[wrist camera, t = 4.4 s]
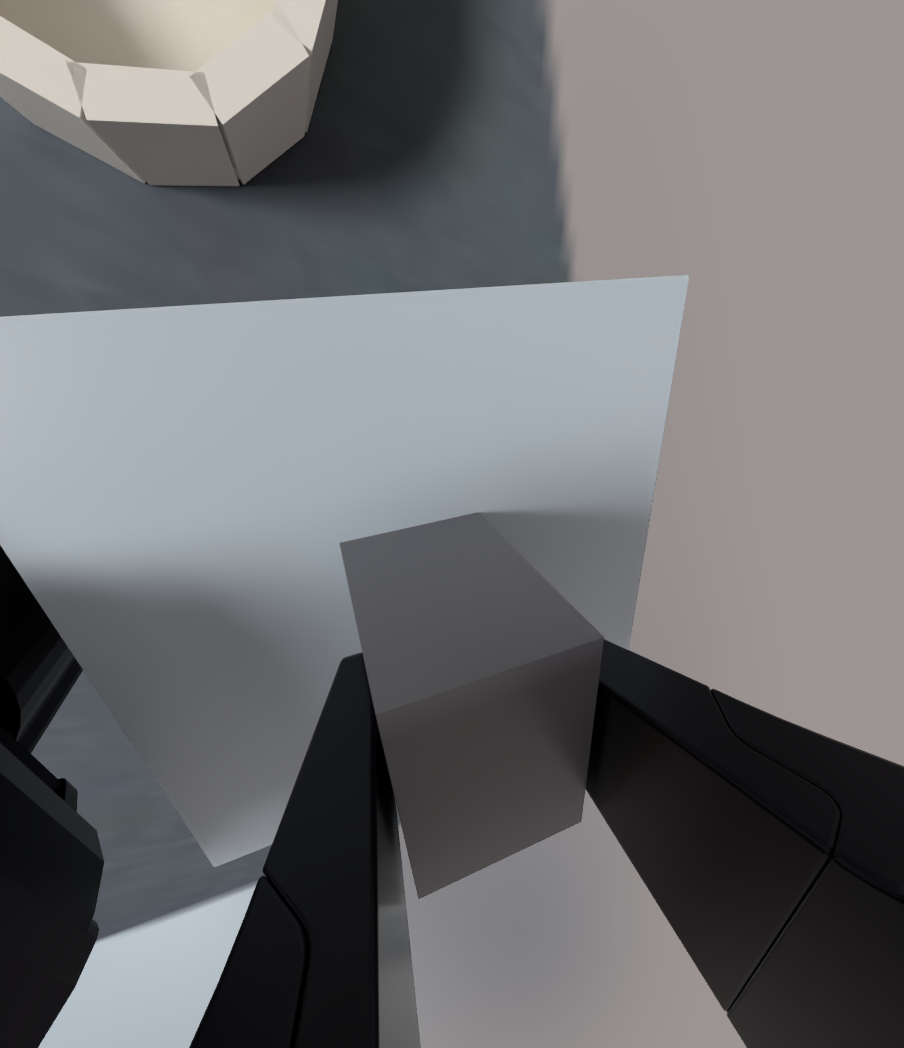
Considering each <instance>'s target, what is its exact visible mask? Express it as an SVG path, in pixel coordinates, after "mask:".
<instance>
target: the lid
mask: <svg viewBox="0 0 904 1048" xmlns="http://www.w3.org/2000/svg"><path fill="white" fill-rule="evenodd" d="M688 281H689V275H680V276H666V277H665V276H664V277H648V278H631V279H615V280H600V281H599V280H598V281H582V282H565V283H549V284H533V285H516V286H500V287H483V288H467V289H450V290H434V291H417V292H401V293H385V294H368V295H352V296H335V297H319V298H302V299H286V300H270V301H253V302H237V303H220V304H204V305H187V306H171V307H154V308H138V309H122V310H105V311H89V312H72V313H56V314H39V315H23V316H7V317H0V545H1V547H2V548H3V550H4V551H5V553H6V554H7V556H8V557H9V559H10V560H11V562H12V563H13V565H14V566H15V568H16V569H17V571H18V572H19V574H20V575H21V577H22V579H23V580H24V582H25V583H26V585H27V586H28V588H29V589H30V591H31V592H32V594H33V595H34V597H35V598H36V600H37V601H38V603H39V604H40V606H41V607H42V609H43V610H44V612H45V613H46V615H47V616H48V618H49V619H50V621H51V622H52V624H53V625H54V627H55V628H56V630H57V631H58V633H59V634H60V636H61V637H62V639H63V640H64V642H65V643H66V645H67V646H68V648H69V649H70V651H71V652H72V654H73V655H74V657H75V658H76V660H77V661H78V663H79V664H80V666H81V667H82V669H83V670H84V672H85V673H86V675H87V676H88V678H89V679H90V681H91V682H92V684H93V686H94V687H95V689H96V690H97V692H98V693H99V695H100V696H101V698H102V699H103V701H104V702H105V704H106V705H107V707H108V708H109V710H110V711H111V713H112V714H113V716H114V717H115V719H116V720H117V722H118V723H119V725H120V726H121V728H122V729H123V731H124V732H125V734H126V735H127V737H128V738H129V740H130V741H131V743H132V744H133V746H134V747H135V749H136V750H137V752H138V753H139V755H140V756H141V758H142V759H143V761H144V762H145V764H146V765H147V767H148V768H149V770H150V771H151V773H152V774H153V776H154V777H155V779H156V780H157V782H158V783H159V785H160V786H161V788H162V789H163V791H164V793H165V794H166V796H167V797H168V799H169V800H170V802H171V803H172V805H173V806H174V808H175V809H176V811H177V812H178V814H179V815H180V817H181V818H182V820H183V821H184V823H185V824H186V826H187V827H188V829H189V830H190V832H191V833H192V835H193V836H194V838H195V839H196V841H197V842H198V844H199V845H200V847H201V848H202V850H203V851H204V853H205V854H206V856H207V857H208V859H209V860H210V862H211V863H212V865H213V866H214V867H217V866H219V865H222V864H224V863H227V862H229V861H232V860H234V859H237V858H239V857H242V856H244V855H247V854H249V853H252V852H254V851H257V850H259V849H262V848H264V847H267V846H270V845H272V843H273V840H274V838H275V835H276V832H277V830H278V827H279V824H280V822H281V819H282V816H283V814H284V811H285V808H286V805H287V803H288V800H289V797H290V795H291V792H292V789H293V787H294V784H295V781H296V779H297V776H298V773H299V771H300V768H301V765H302V763H303V760H304V757H305V755H306V752H307V749H308V747H309V744H310V741H311V739H312V736H313V733H314V731H315V728H316V725H317V723H318V720H319V717H320V715H321V712H322V709H323V707H324V704H325V701H326V699H327V696H328V693H329V691H330V688H331V685H332V683H333V680H334V677H335V675H336V672H337V669H338V667H339V664H340V662H341V660H342V659H343V658H344V657H347V656H350V655H354V654H357V653H361V652H362V653H363V658H364V662H365V667H366V672H367V677H368V681H369V686H370V691H371V695H372V700H373V705H374V710H375V714H376V719H377V723H378V727H379V732H380V736H381V740H382V744H383V749H384V753H385V757H386V762H387V766H388V770H389V774H390V779H391V783H392V787H393V791H394V796H395V800H396V804H397V809H398V813H399V817H400V821H401V826H402V830H403V834H404V839H405V843H406V847H407V851H408V856H409V860H410V864H411V868H412V873H413V877H414V881H415V886H416V890H417V894H418V898H419V899H420V898H422V897H424V896H426V895H428V894H430V893H432V892H434V891H436V890H439V889H441V888H443V887H445V886H447V885H449V884H451V883H453V882H455V881H458V880H460V879H462V878H464V877H466V876H468V875H470V874H472V873H474V872H476V871H479V870H481V869H483V868H485V867H487V866H489V865H491V864H493V863H495V862H497V861H500V860H502V859H504V858H506V857H508V856H510V855H512V854H514V853H516V852H518V851H520V850H523V849H525V848H527V847H529V846H531V845H533V844H535V843H537V842H539V841H542V840H544V839H546V838H548V837H550V836H552V835H554V834H556V833H558V832H560V831H563V830H564V829H567V828H569V827H571V826H573V825H575V824H577V823H579V822H581V819H582V811H583V803H584V795H585V787H586V779H587V771H588V763H589V755H590V747H591V739H592V731H593V723H594V715H595V707H596V699H597V691H598V683H599V675H600V667H601V659H602V651H603V643H604V639H605V640H607V641H610V642H612V643H614V644H616V645H618V646H621V647H623V648H625V649H627V650H628V649H629V643H630V637H631V631H632V625H633V619H634V613H635V606H636V600H637V594H638V588H639V581H640V576H641V570H642V563H643V557H644V551H645V545H646V539H647V532H648V526H649V520H650V514H651V508H652V502H653V496H654V490H655V483H656V477H657V471H658V465H659V459H660V453H661V446H662V441H663V434H664V428H665V422H666V416H667V410H668V404H669V397H670V391H671V385H672V379H673V373H674V367H675V360H676V354H677V349H678V342H679V336H680V330H681V323H682V318H683V312H684V305H685V299H686V293H687V287H688Z"/></svg>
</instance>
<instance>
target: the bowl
mask: <svg viewBox="0 0 904 1048" xmlns="http://www.w3.org/2000/svg"><path fill="white" fill-rule="evenodd" d="M337 3H338V0H0V97H1V98H2V99H4V100H5V101H6V102H7V103H9V104H10V105H11V106H12V107H13V108H15V109H16V110H17V111H18V112H20V113H21V114H22V115H23V116H25V117H26V118H27V119H28V120H30V121H31V122H32V123H33V124H35V125H36V126H38V127H40V128H42V129H44V130H46V131H48V132H49V133H51V134H53V135H55V136H57V137H59V138H61V139H62V140H64V141H66V142H68V143H70V144H72V145H74V146H75V147H77V148H79V149H81V150H83V151H85V152H87V153H88V154H90V155H92V156H94V157H96V158H98V159H100V160H101V161H103V162H105V163H107V164H109V165H111V166H113V167H114V168H116V169H118V170H120V171H122V172H124V173H126V174H127V175H129V176H131V177H133V178H135V179H137V180H139V181H140V182H142V183H144V184H145V182H147V183H148V184H149V185H164V186H240V185H239V181H238V180H240V181H241V183H242V184H243V185H244V184H245V183H247V182H248V181H249V180H250V179H252V178H253V177H254V176H255V175H257V174H258V173H259V172H260V171H262V170H263V169H264V168H265V167H267V166H268V165H269V164H270V163H272V162H273V161H274V160H275V159H277V158H278V157H279V156H280V155H282V154H283V153H284V152H285V151H287V150H288V149H289V148H290V147H292V146H293V145H294V144H295V143H297V142H298V141H299V140H300V139H302V138H303V137H304V136H305V132H306V133H307V130H308V126H309V123H310V119H311V115H312V112H313V108H314V105H315V101H316V98H317V94H318V90H319V87H320V83H321V80H322V76H323V72H324V69H325V65H326V62H327V58H328V55H329V51H330V47H331V44H332V40H333V33H334V26H335V18H336V11H337Z"/></svg>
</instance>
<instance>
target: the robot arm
mask: <svg viewBox="0 0 904 1048" xmlns="http://www.w3.org/2000/svg"><path fill="white" fill-rule="evenodd" d="M82 671H83V669H82V667H81V666H80V664H79V663H78V661H77V660H76V658H75V657H74V655H73V654H72V652H71V651H70V649H69V648H68V646H67V645H66V643H65V642H64V640H63V639H62V637H61V636H60V634H59V633H58V631H57V630H56V628H55V627H54V625H53V624H52V622H51V621H50V619H49V618H48V616H47V615H46V613H45V612H44V610H43V609H42V607H41V606H40V604H39V603H38V601H37V600H36V598H35V597H34V595H33V594H32V592H31V591H30V589H29V588H28V586H27V585H26V583H25V582H24V580H23V579H22V577H21V575H20V574H19V572H18V571H17V569H16V568H15V566H14V565H13V563H12V562H11V560H10V559H9V557H8V556H7V554H6V553H5V551H4V550H3V548H2V547H1V545H0V1048H38V1047H39V1045H40V1043H41V1042H42V1040H43V1038H44V1037H45V1035H46V1033H47V1032H48V1030H49V1028H50V1027H51V1025H52V1024H53V1022H54V1020H55V1019H56V1017H57V1015H58V1014H59V1012H60V1011H61V1009H62V1007H63V1006H64V1004H65V1003H66V1001H67V999H68V997H69V996H70V994H71V993H72V991H73V990H74V988H75V986H76V984H77V981H78V979H79V977H80V975H81V972H82V970H83V968H84V966H85V964H86V962H87V959H88V957H89V955H90V953H91V951H92V948H93V946H94V944H95V942H96V940H97V936H98V931H99V928H98V925H97V922H95V921H94V920H92V918H93V915H94V912H95V908H96V903H97V897H98V892H99V887H100V881H101V876H102V871H103V865H104V859H103V855H102V851H101V847H100V843H99V839H98V835H97V831H96V829H94V828H93V827H92V826H91V825H90V824H89V823H88V822H87V821H86V820H85V819H83V818H82V817H81V816H80V815H79V814H78V813H77V793H78V792H77V789H76V788H74V787H73V786H72V785H71V784H70V783H69V782H68V781H67V780H66V779H64V778H61V779H57V778H56V777H55V776H54V775H53V774H52V773H51V772H50V771H48V770H47V769H46V768H45V767H44V766H43V765H42V764H41V763H40V762H39V761H38V760H37V759H36V758H35V757H34V756H32V755H31V752H32V751H33V749H34V747H35V746H36V744H37V743H38V741H39V740H40V738H41V736H42V735H43V733H44V732H45V730H46V728H47V727H48V725H49V724H50V722H51V720H52V719H53V717H54V716H55V714H56V712H57V711H58V709H59V708H60V706H61V704H62V703H63V701H64V700H65V698H66V696H67V695H68V693H69V692H70V690H71V688H72V687H73V685H74V684H75V682H76V680H77V679H78V677H79V676H80V674H81V672H82ZM585 789H586V790H587V792H588V793H589V795H590V797H591V798H592V800H593V801H594V803H595V805H596V806H597V808H598V809H599V811H600V812H601V814H602V816H603V817H604V819H605V821H606V822H607V824H608V825H609V827H610V829H611V830H612V832H613V833H614V835H615V836H616V838H617V840H618V841H619V843H620V845H621V846H622V848H623V849H624V851H625V853H626V854H627V856H628V857H629V859H630V861H631V862H632V864H633V865H634V867H635V869H636V870H637V872H638V873H639V875H640V877H641V878H642V880H643V881H644V883H645V885H646V886H647V887H648V889H649V891H650V893H651V894H652V896H653V897H654V899H655V900H656V902H657V904H658V905H659V907H660V909H661V910H662V912H663V913H664V915H665V917H666V918H667V920H668V921H669V923H670V924H671V926H672V928H673V929H674V931H675V933H676V934H677V936H678V937H679V939H680V940H681V942H682V944H683V945H684V947H685V949H686V950H687V952H688V953H689V955H690V957H691V958H692V960H693V961H694V963H695V965H696V966H697V968H698V969H699V971H700V972H701V974H702V976H703V977H704V979H705V980H706V982H707V984H708V985H709V987H710V989H711V990H712V991H713V993H714V995H715V997H716V998H717V1000H718V1001H719V1003H720V1005H721V1006H722V1008H723V1009H724V1010H725V1011H727V1016H728V1018H729V1020H730V1021H731V1023H732V1024H733V1026H734V1028H735V1029H736V1031H737V1032H738V1034H739V1036H740V1037H741V1039H742V1040H743V1042H744V1044H745V1045H746V1047H747V1048H904V766H901V765H899V764H896V763H893V762H891V761H888V760H886V759H883V758H881V757H878V756H875V755H873V754H870V753H867V752H865V751H862V750H860V749H857V748H854V747H852V746H849V745H847V744H844V743H841V742H839V741H836V740H833V739H831V738H828V737H826V736H823V735H821V734H818V733H816V732H813V731H811V730H808V729H806V728H803V727H801V726H798V725H796V724H793V723H791V722H788V721H786V720H783V719H781V718H779V717H776V716H774V715H771V714H769V713H767V712H765V711H762V710H760V709H758V708H755V707H753V706H751V705H749V704H746V703H744V702H742V701H739V700H737V699H735V698H732V697H731V696H728V695H726V694H724V693H722V692H720V691H717V690H715V689H712V690H710V688H709V687H708V686H706V685H704V684H702V683H699V682H697V681H695V680H693V679H691V678H689V677H686V676H684V675H682V674H680V673H678V672H675V671H673V670H671V669H669V668H666V667H664V666H662V665H660V664H657V663H656V662H653V661H651V660H649V659H647V658H645V657H642V656H640V655H638V654H636V653H633V652H631V651H629V650H627V649H625V648H623V647H621V646H618V645H616V644H614V643H612V642H610V641H607V640H605V639H604V643H603V651H602V659H601V667H600V675H599V683H598V691H597V699H596V707H595V715H594V723H593V731H592V739H591V747H590V755H589V763H588V771H587V779H586V787H585ZM262 872H263V875H264V876H262V877H260V878H259V880H258V882H257V885H256V888H255V890H254V893H253V896H252V898H251V901H250V904H249V906H248V909H247V912H246V914H245V917H244V920H243V923H242V925H241V927H240V930H239V932H238V935H237V937H236V940H235V942H234V945H233V947H232V950H231V953H230V955H229V957H228V960H227V962H226V965H225V967H224V970H223V972H222V975H221V977H220V980H219V982H218V984H217V987H216V989H215V991H214V994H213V996H212V998H211V1000H210V1003H209V1005H208V1007H207V1009H206V1011H205V1014H204V1016H203V1018H202V1020H201V1022H200V1025H199V1027H198V1029H197V1032H196V1034H195V1036H194V1038H193V1040H192V1043H191V1045H190V1047H189V1048H421V1047H420V1037H419V1027H418V1018H417V1008H416V999H415V988H414V979H413V969H412V960H411V949H410V939H409V929H408V920H407V909H406V900H405V890H404V880H403V870H402V861H401V852H400V841H399V831H398V821H397V811H396V801H395V796H394V791H393V787H392V783H391V779H390V774H389V770H388V766H387V762H386V757H385V753H384V749H383V744H382V740H381V736H380V732H379V727H378V723H377V719H376V714H375V710H374V705H373V700H372V695H371V691H370V686H369V681H368V677H367V672H366V667H365V662H364V658H363V653H362V652H361V653H357V654H354V655H350V656H347V657H344V658H343V659H342V660H341V662H340V664H339V667H338V669H337V672H336V675H335V677H334V680H333V683H332V685H331V688H330V691H329V693H328V696H327V699H326V701H325V704H324V707H323V709H322V712H321V715H320V717H319V720H318V723H317V725H316V728H315V731H314V733H313V736H312V739H311V741H310V744H309V747H308V749H307V752H306V755H305V757H304V760H303V763H302V765H301V768H300V771H299V773H298V776H297V779H296V781H295V784H294V787H293V789H292V792H291V795H290V797H289V800H288V803H287V805H286V808H285V811H284V814H283V816H282V819H281V822H280V824H279V827H278V830H277V832H276V835H275V838H274V840H273V843H272V846H271V848H270V851H269V854H268V856H267V859H266V862H265V864H264V867H263V870H262Z"/></svg>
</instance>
